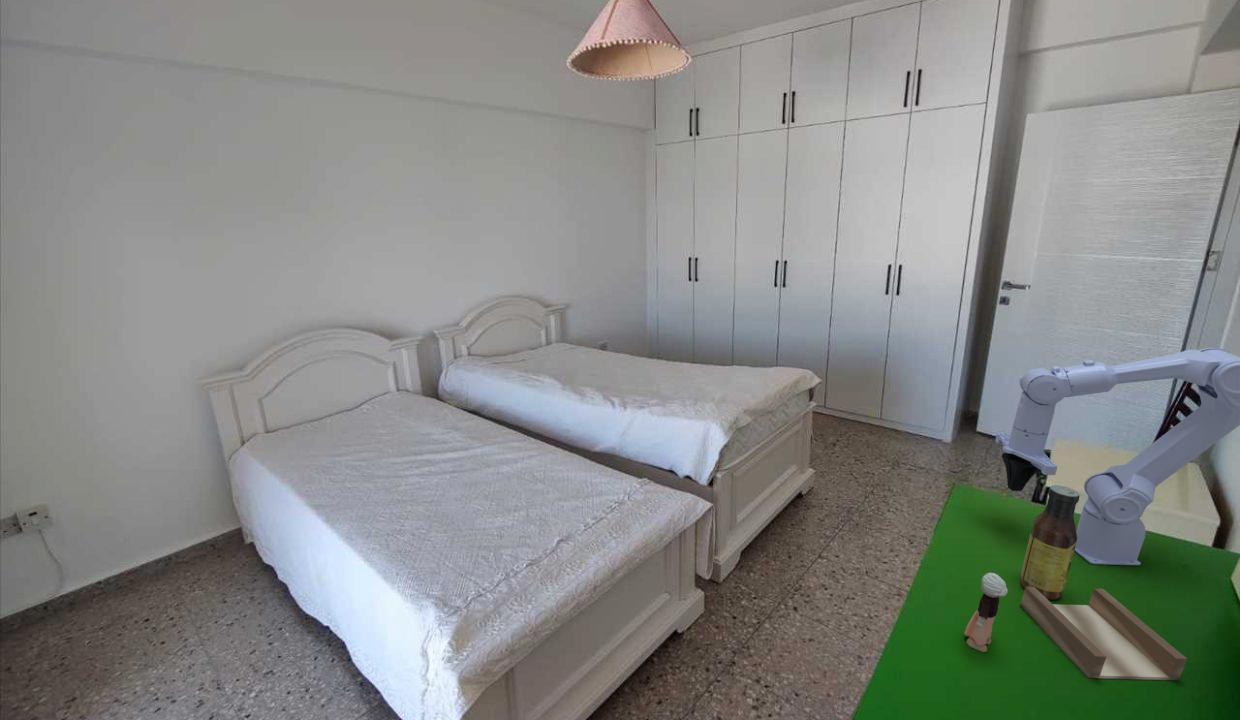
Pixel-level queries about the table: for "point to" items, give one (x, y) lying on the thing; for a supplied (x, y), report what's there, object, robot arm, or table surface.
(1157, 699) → the table surface
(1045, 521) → the sauce bottle
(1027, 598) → the u rest
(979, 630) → the grandmother figurine
